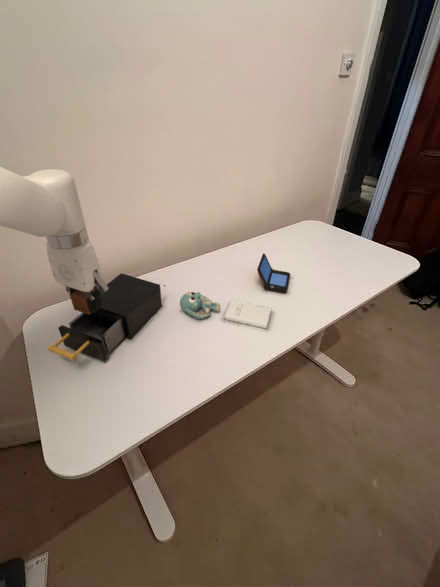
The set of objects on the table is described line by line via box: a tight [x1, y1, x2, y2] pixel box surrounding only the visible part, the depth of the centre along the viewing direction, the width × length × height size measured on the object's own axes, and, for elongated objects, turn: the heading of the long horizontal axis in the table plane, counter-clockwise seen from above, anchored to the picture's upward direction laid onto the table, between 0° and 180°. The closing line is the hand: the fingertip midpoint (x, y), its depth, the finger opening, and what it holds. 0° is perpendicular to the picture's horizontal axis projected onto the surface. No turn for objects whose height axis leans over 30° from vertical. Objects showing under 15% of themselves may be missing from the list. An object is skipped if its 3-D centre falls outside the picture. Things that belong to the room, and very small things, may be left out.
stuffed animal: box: [179, 291, 221, 320], centre depth 90 cm, size 11×7×12 cm
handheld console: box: [257, 252, 291, 294], centre depth 103 cm, size 12×11×7 cm
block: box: [69, 288, 95, 315], centre depth 70 cm, size 4×4×4 cm
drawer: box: [47, 309, 128, 363], centre depth 76 cm, size 20×12×6 cm, turn 157°
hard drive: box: [224, 300, 272, 330], centre depth 90 cm, size 2×8×12 cm
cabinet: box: [99, 272, 163, 340], centre depth 86 cm, size 16×14×8 cm
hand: (87, 305), depth 72 cm, fingers closed on block, 4 cm apart
